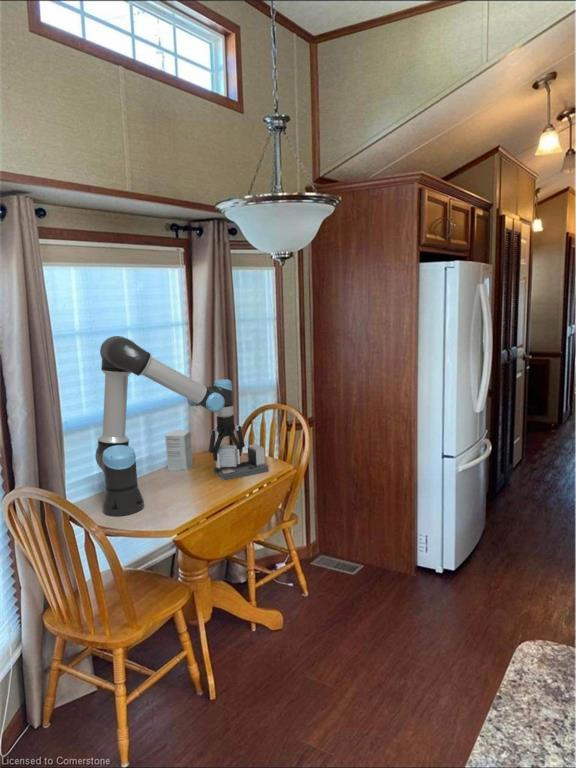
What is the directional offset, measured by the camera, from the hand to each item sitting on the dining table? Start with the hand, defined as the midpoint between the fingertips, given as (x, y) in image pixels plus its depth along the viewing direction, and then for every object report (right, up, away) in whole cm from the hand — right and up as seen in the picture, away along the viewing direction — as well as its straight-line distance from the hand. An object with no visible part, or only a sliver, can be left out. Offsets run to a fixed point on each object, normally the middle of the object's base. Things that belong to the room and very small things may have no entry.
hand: (228, 465), depth 249 cm
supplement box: (-23, -3, +13) cm, 27 cm away
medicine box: (0, 0, 0) cm, 0 cm away
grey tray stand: (+5, -4, +4) cm, 8 cm away
